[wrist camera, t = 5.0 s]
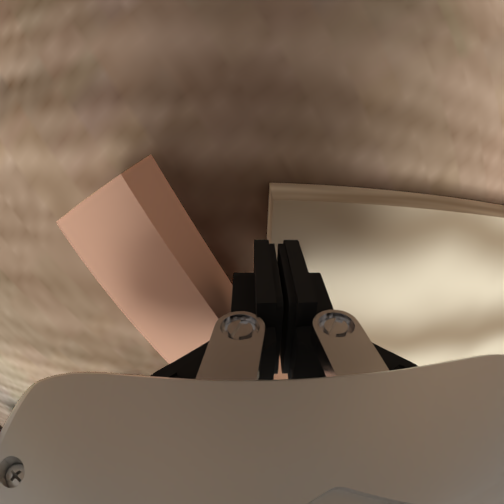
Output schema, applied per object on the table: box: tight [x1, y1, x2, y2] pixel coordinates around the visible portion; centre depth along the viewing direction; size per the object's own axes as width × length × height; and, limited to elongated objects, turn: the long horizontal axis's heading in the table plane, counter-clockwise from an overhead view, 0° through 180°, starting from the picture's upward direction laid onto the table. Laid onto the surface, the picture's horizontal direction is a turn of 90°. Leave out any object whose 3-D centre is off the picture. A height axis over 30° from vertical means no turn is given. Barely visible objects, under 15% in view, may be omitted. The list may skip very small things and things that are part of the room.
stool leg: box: [56, 155, 288, 380], centre depth 13 cm, size 17×3×3 cm, turn 27°
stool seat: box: [267, 183, 504, 366], centre depth 16 cm, size 17×30×4 cm, turn 89°
